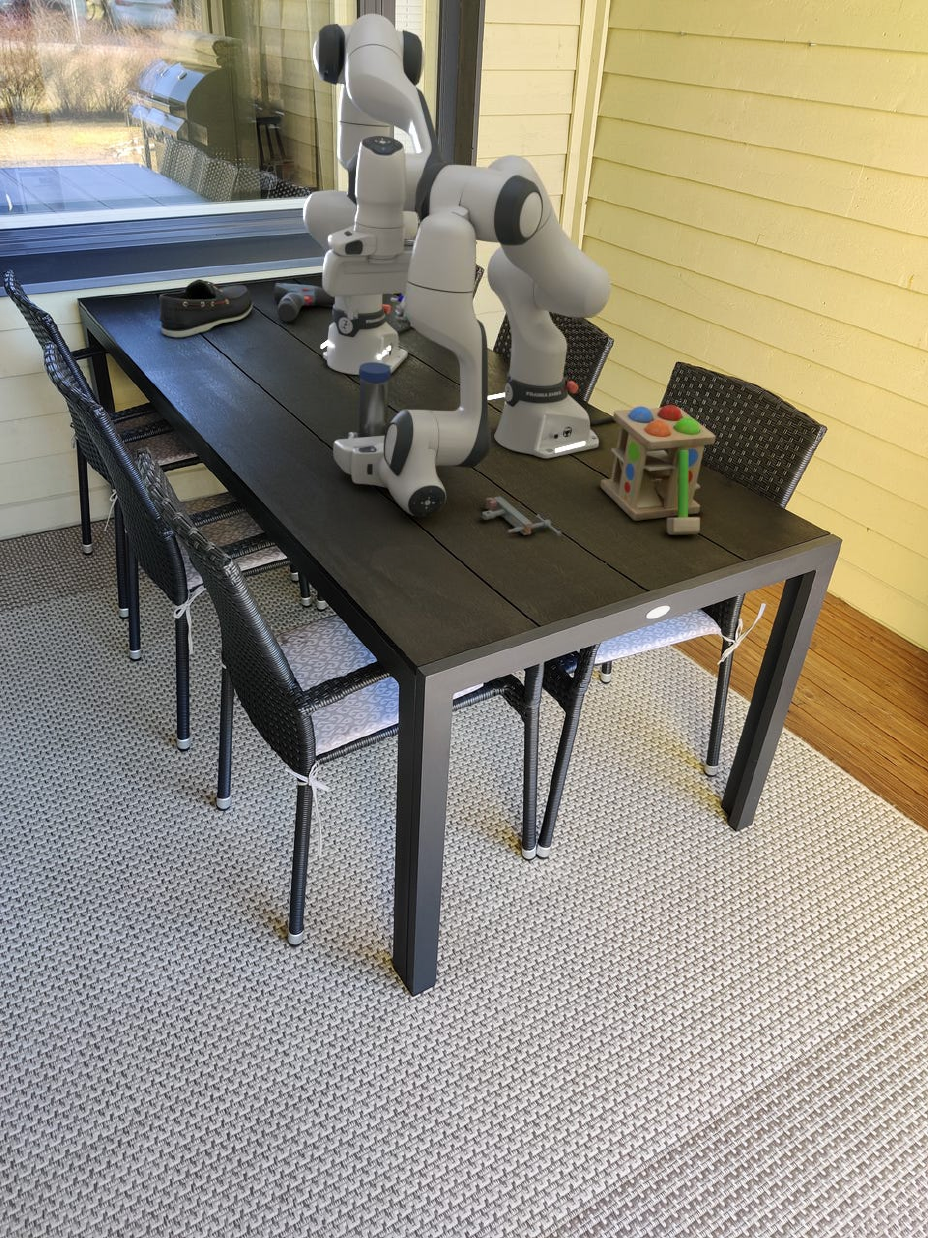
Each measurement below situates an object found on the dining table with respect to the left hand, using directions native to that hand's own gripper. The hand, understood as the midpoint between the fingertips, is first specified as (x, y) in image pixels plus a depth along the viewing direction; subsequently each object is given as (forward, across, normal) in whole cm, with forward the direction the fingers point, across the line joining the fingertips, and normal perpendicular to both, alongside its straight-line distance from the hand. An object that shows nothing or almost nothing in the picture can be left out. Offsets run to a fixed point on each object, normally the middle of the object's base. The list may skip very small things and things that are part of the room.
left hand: (376, 317), depth 181 cm
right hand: (+23, 0, +1) cm, 23 cm away
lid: (+10, 0, 0) cm, 10 cm away
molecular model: (+28, -39, -76) cm, 90 cm away
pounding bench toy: (+28, -44, +37) cm, 64 cm away
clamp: (+28, -15, +35) cm, 47 cm away
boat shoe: (+28, +13, -87) cm, 92 cm away
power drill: (+28, -14, -89) cm, 94 cm away
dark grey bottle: (+28, 0, 0) cm, 28 cm away
